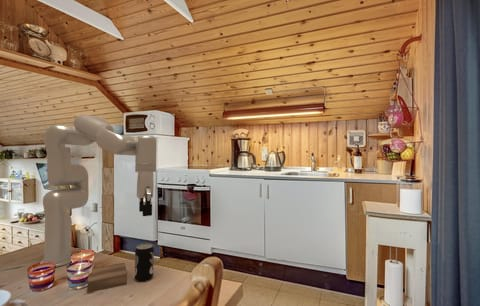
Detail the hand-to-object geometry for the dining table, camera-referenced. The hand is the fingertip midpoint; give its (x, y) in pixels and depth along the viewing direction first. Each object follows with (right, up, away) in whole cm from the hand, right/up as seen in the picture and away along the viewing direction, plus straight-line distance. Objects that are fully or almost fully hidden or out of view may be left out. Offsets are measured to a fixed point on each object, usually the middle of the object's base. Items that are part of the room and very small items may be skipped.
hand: (145, 213), depth 93 cm
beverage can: (0, -24, -1) cm, 24 cm away
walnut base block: (-13, -24, -3) cm, 27 cm away
